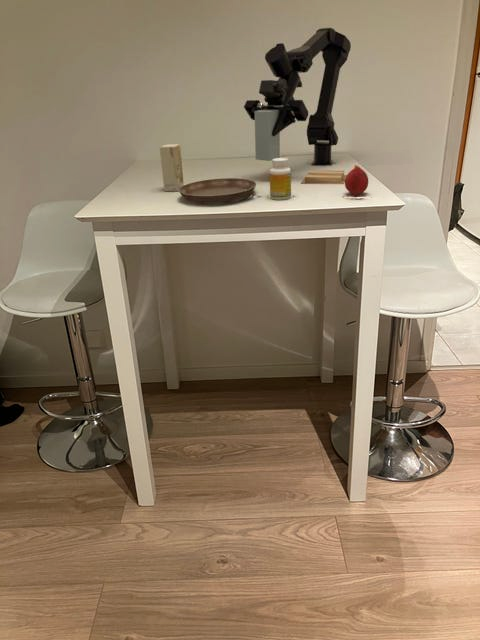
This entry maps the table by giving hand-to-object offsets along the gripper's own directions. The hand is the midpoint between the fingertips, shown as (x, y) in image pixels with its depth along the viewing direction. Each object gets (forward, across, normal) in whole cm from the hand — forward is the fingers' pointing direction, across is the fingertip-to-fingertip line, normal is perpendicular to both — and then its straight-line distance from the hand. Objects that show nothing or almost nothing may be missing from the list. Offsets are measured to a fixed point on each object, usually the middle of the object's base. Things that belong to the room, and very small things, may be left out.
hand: (264, 135), depth 147 cm
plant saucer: (+24, -2, -4) cm, 24 cm away
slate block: (+4, 0, +6) cm, 7 cm away
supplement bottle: (+19, +14, 0) cm, 24 cm away
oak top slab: (+3, +15, +15) cm, 21 cm away
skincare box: (+22, -20, -3) cm, 30 cm away
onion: (+13, +30, +6) cm, 34 cm away
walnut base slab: (+4, +15, +16) cm, 22 cm away
